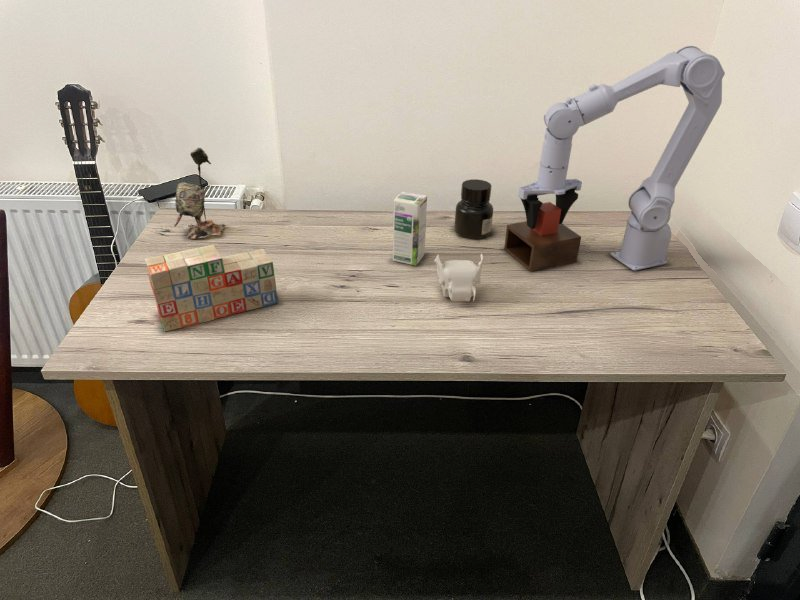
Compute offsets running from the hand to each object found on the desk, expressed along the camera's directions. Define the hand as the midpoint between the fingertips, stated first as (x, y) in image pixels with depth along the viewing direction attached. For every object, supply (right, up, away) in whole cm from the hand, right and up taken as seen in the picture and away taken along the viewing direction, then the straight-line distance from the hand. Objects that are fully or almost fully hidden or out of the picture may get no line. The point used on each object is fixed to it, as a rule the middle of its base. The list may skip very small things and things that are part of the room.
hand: (544, 224), depth 131 cm
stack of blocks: (-66, -18, -16) cm, 71 cm away
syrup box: (-30, -7, +2) cm, 31 cm away
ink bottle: (-14, 0, +14) cm, 20 cm away
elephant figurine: (-20, -16, -11) cm, 28 cm away
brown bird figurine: (-79, -1, +11) cm, 79 cm away
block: (0, -1, +1) cm, 1 cm away
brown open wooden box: (0, -7, +4) cm, 8 cm away
